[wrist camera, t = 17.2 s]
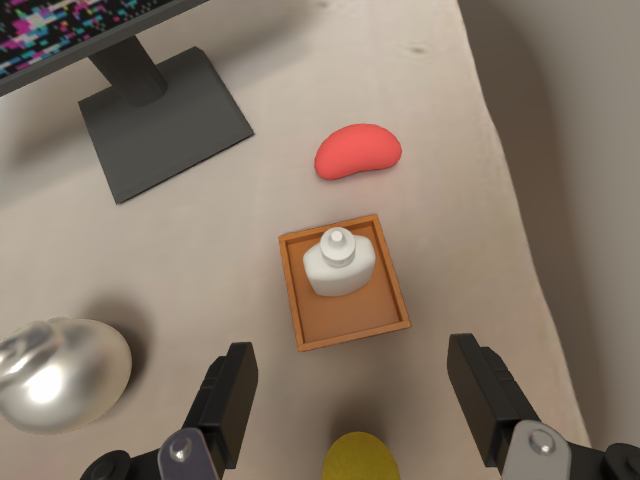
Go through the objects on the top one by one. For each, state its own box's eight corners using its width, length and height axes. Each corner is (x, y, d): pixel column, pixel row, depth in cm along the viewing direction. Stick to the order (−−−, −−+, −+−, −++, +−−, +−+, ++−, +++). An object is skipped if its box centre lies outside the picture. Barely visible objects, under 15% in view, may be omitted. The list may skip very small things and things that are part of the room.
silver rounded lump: (146, 305, 32) (62, 286, 23) (157, 403, 29) (66, 428, 19) (60, 334, 32) (-59, 326, 23) (62, 436, 29) (-77, 477, 19)
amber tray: (407, 328, 29) (411, 326, 27) (301, 352, 29) (298, 352, 27) (375, 221, 33) (377, 213, 31) (281, 242, 33) (277, 236, 31)
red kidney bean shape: (325, 145, 39) (302, 132, 33) (399, 123, 35) (386, 103, 29) (332, 186, 39) (309, 180, 33) (406, 168, 35) (395, 158, 29)
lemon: (399, 435, 26) (419, 468, 19) (383, 512, 25) (398, 581, 17) (336, 412, 27) (331, 435, 20) (317, 484, 26) (304, 538, 18)
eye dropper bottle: (319, 251, 32) (303, 197, 21) (373, 264, 31) (388, 213, 20) (307, 293, 31) (284, 258, 19) (364, 307, 30) (374, 279, 19)
